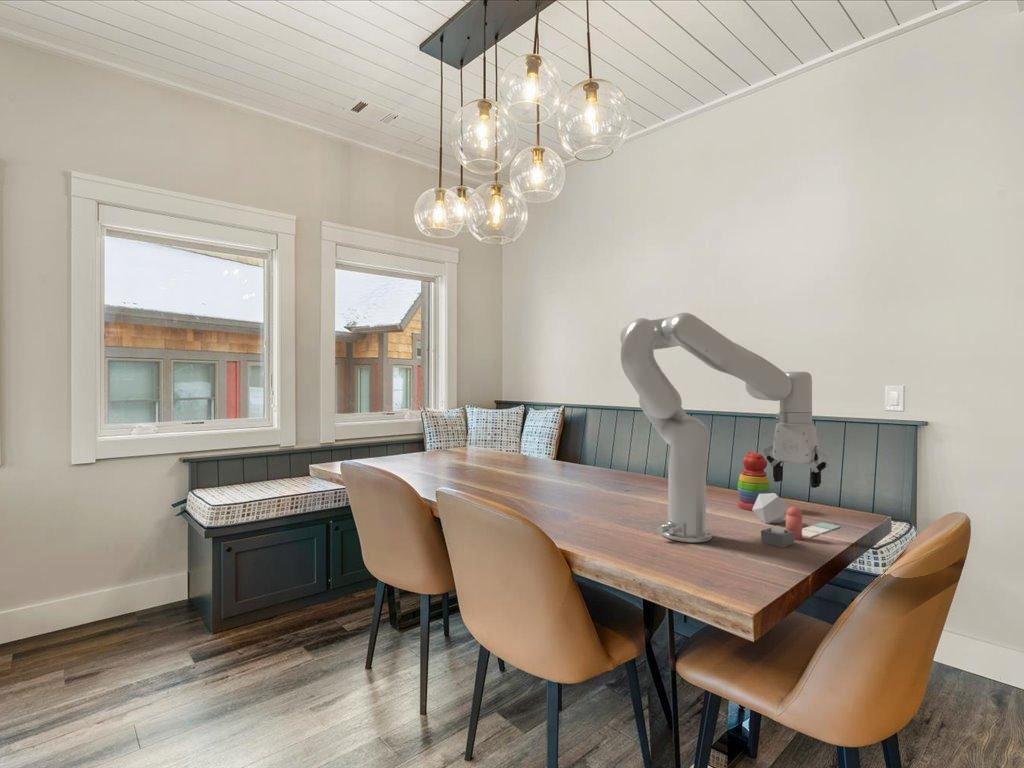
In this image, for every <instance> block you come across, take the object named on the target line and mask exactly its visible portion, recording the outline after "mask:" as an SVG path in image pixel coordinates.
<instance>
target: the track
mask: <svg viewBox="0 0 1024 768" xmlns="http://www.w3.org/2000/svg"><path fill="white" fill-rule="evenodd" d="M830 531H831V530H829V529H824V528H820V527H815V526H813V525H810V526H806V527H802V537H805V538H813V537H816V536H819V535H822V534H825V533H829V532H830Z"/></svg>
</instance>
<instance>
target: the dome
mask: <svg viewBox="0 0 1024 768" xmlns="http://www.w3.org/2000/svg"><path fill="white" fill-rule="evenodd" d="M771 527H772V529H771V532H774V533H778V534H784V533H785V531H784V530H785V529H784V528H783V527H782V526H780V525H774V526H771Z"/></svg>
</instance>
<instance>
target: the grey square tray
mask: <svg viewBox="0 0 1024 768" xmlns="http://www.w3.org/2000/svg"><path fill="white" fill-rule="evenodd" d="M772 527H773V526H771V527H769V528H765V529H761V530H760V543H763V544H766V545H771V546H774V547H777V548H782V549H784V548H787V547H790V546H793V545H795V540H794V532H792V531H788V530H786V529H784V531H785V533H784V534H778V533H774V532H771V529H772Z"/></svg>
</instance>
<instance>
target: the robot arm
mask: <svg viewBox="0 0 1024 768" xmlns="http://www.w3.org/2000/svg"><path fill="white" fill-rule="evenodd" d="M619 337H620V338H619V340H620V343H621V347H620V363H621V367H622V370H623V372H624V375H625V376H626V378H627V379H628V381H629V383H630V384H631V385H632V387H633V388H634V390H635V391H636V393H637V395H638V403H639V405H640V408H641V410H642V412H643V414H644V416H646V418H647V419H648V421H649V422H650V423H651V425H652V426H653V428H654V429H655V431H656V432H657V433H658V435H659V436H660V437H661V438H662V440H663V441H664V442H665V443H666V444H667V445H669V446H670V448H669V449H670V450H669V456H668V471H667V474H668V480H667V484H668V486H667V489H668V490H667V491H668V492H667V493H668V495H667V496H668V497H667V503H668V504H667V518H666V519H665V523H664V524H661V525H658V526H657V527H656V531H657V532H658V534H661V535H662V536H664V537H665V538H667V539H669V540H673V541H677V542H683V543H692V544H693V543H705V542H709V541H711V540H712V538H713V534H712V532H711V531H710V530H708V529H707V526H706V525H707V524H706V522H707V519H706V518H707V459H708V453H709V446H710V445H709V444H710V434H709V430H708V428H707V426H706V425H705V424H704V422H703V421H701V420H700V419H698V418H696V417H694V416H690V415H688V414H687V412H686V411H685V409H684V408H683V407H682V405H683V403H682V402H683V401H682V397H681V395H680V392H679V391H678V390H677V388H675V387H674V385H673V383H671V381H670V380H669V379H668V377H667V376H666V374H665V373H664V372H663V370H662V368H661V367H660V366H659V364H658V362H657V360H656V358H655V355H654V351H655V350H663V349H664V350H665V349H669V348H675V347H681V348H682V349H684V350H685V351H686V352H688V353H690V354H691V355H692V356H694V357H696V358H697V359H698V360H700V361H701V362H703V363H704V364H705V365H707V366H708V367H709V368H711V369H713V370H715V371H718V372H721V373H724V374H728V375H730V376H733V377H734V378H735V377H736V378H737V379H739V380H741V381H743V382H744V383H745V389H746V392H747V393H748V395H750V396H751V398H754V399H756V400H763V401H772V402H775V401H776V402H779V412H778V413H775V419H778V421H779V422H777V423H776V425H775V429H774V434H773V443H772V445H770V446H768V447H766V448H763V450H762V451H763V453H764V455H765V458H766V461H767V462H768V463H770V465H771V467H772V476H773V482H775V483H777V482H782V481H783V480H784V479H783V477H784V476H783V474H784V471H783V469H784V468H783V466H782V464H783V463H790V464H791V463H792V464H799V465H801V464H802V465H808V466H809V467H810V469H811V470H812V471H811V472H810V487H811V488H812V489H815V488H819V487H820V485H821V484H822V471H824V469H826V468H827V467H828V466H829V463H830V462H831V460H832V459H833V456H832V454H830V453H828V452H826V451H825V450H823V449H821V448H820V447H819V439H818V434H817V433H818V432H817V429H816V425H815V424H813V378H812V374H811V373H810V372H808V371H785V372H784V370H782V369H780V367H778V366H776V365H775V364H773V363H772V362H770V361H769V360H767V359H766V358H764V357H762V356H761V355H759V354H757V353H755V352H753V351H752V350H749V349H747V348H745V347H744V346H742V345H740V344H739V343H735V342H733V341H732V340H731V339H730V338H728V337H726V336H724V335H723V334H721V332H719V331H718V330H716V329H714V328H713V327H712V326H710V325H709V324H707V323H706V322H705V321H703V320H701V319H700V318H698V317H697V316H696V315H694V314H692V313H690V312H689V313H688V312H681V313H677V314H674V315H672V316H668V317H663V318H656V319H648V318H645V317H643V318H636V319H634V320H632V321H630V322H628V323H627V324H626V325H625V326H623V328H622V330H621V332H620V336H619ZM819 457H821V458H822V461H821V462H819Z"/></svg>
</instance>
